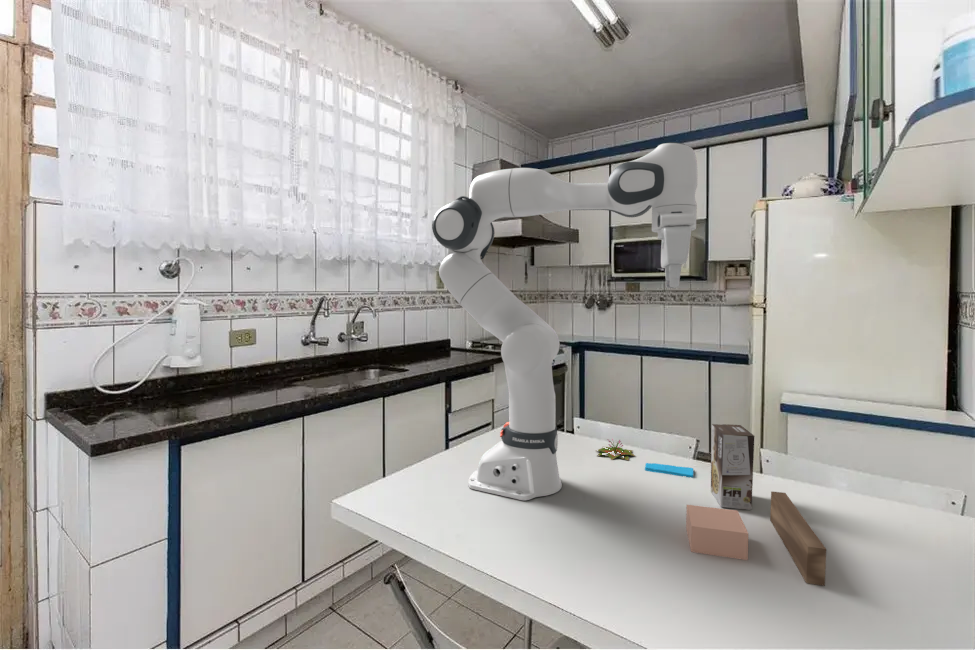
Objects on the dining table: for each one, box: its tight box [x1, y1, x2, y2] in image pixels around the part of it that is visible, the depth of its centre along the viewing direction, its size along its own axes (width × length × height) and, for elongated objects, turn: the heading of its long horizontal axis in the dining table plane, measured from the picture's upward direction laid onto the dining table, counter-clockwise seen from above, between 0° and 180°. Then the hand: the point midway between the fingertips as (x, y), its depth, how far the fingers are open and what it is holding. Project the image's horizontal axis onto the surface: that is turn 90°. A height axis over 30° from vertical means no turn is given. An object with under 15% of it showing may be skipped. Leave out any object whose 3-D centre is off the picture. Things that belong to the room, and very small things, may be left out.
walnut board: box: [769, 490, 827, 587], centre depth 85 cm, size 2×22×6 cm, turn 162°
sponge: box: [644, 462, 694, 479], centre depth 123 cm, size 2×12×6 cm
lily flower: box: [595, 438, 636, 461], centre depth 136 cm, size 12×12×5 cm
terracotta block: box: [685, 504, 749, 561], centre depth 87 cm, size 9×9×5 cm
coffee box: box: [710, 423, 755, 511], centre depth 105 cm, size 9×6×16 cm
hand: (672, 287), depth 101 cm, fingers open, 8 cm apart
